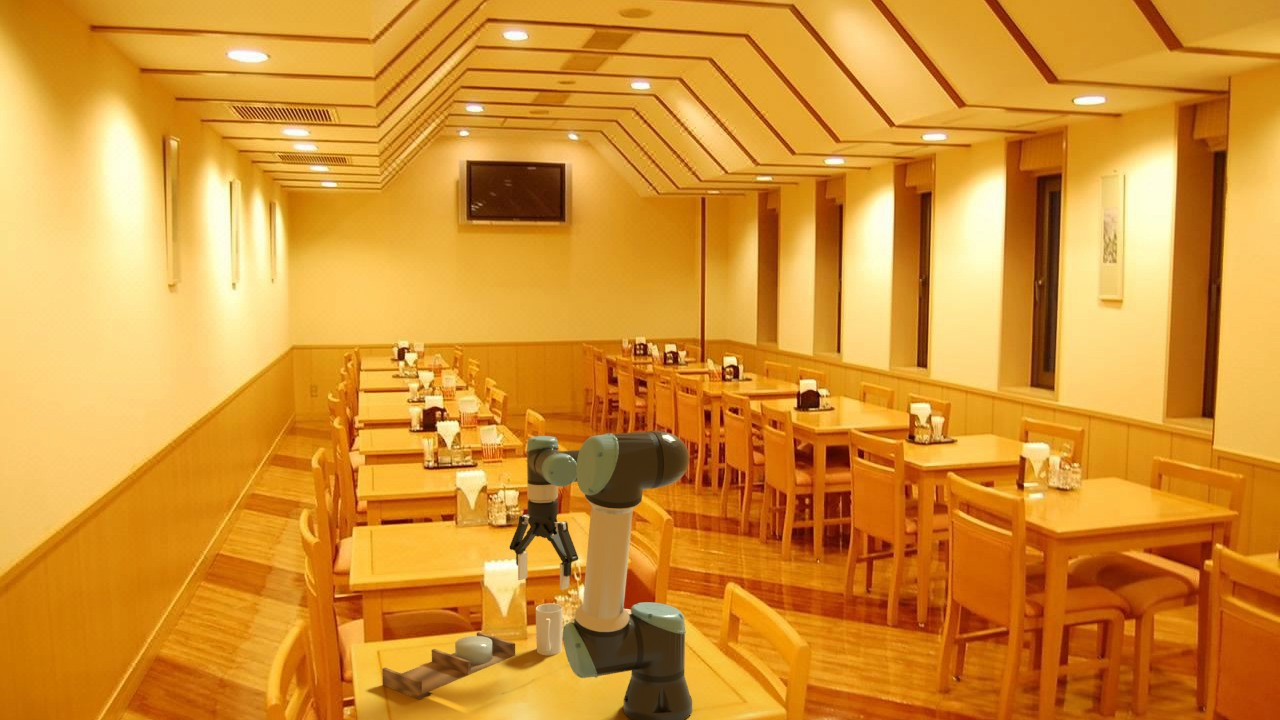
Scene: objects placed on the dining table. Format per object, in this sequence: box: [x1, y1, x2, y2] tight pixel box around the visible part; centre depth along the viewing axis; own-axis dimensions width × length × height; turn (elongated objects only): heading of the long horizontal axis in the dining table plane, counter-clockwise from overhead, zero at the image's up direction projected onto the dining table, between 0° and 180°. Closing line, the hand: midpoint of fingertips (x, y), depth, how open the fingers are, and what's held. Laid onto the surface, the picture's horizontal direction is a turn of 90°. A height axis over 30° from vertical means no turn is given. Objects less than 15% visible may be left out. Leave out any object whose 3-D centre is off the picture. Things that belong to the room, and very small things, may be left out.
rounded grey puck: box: [454, 635, 492, 666], centre depth 249 cm, size 9×9×4 cm
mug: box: [535, 603, 564, 656], centre depth 253 cm, size 10×7×12 cm, turn 0°
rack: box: [381, 631, 516, 701], centre depth 244 cm, size 13×30×4 cm, turn 142°
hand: (543, 583), depth 251 cm, fingers open, 13 cm apart
